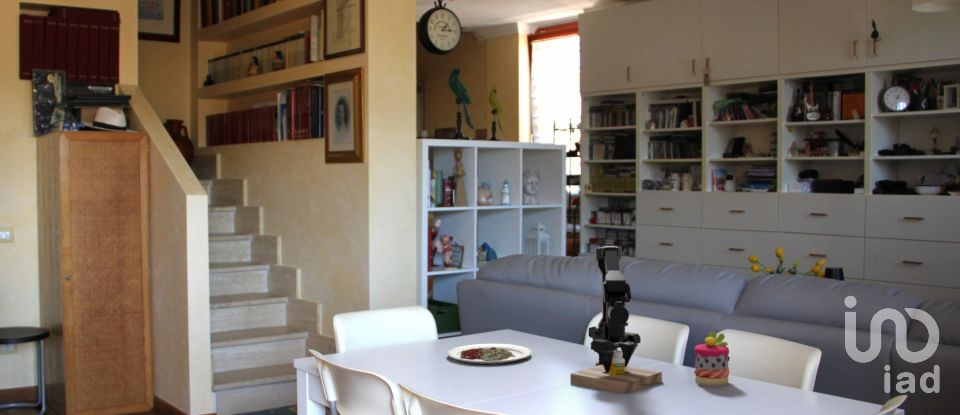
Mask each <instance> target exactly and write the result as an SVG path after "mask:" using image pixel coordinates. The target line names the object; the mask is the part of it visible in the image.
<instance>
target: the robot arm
mask: <svg viewBox="0 0 960 415" xmlns="http://www.w3.org/2000/svg"><path fill="white" fill-rule="evenodd" d="M621 260H622V249H621V248H619V247H618V246H616V245H603V246H602V247H598V248H596V249H595V250H594V261H595V262H596V267H597V268H598V270H599V271H600V273H601V313H602V314H601V319H600V320H599V322H598V323H597V326H594V325H593V326H592V327H591V326H590V327H588V337H589V338H591V339H592V341H591V342H590V350H593V352H594V353H597V355H598V362H595V363H594V364H595V365H596V366H599V365H602V364H603V366H604V368H605V371H606V372H609V371H610V367H611V363H612V359H613V354H614V350H618V349H620V351H622V352H623V356H622V358H624V360H625V367H627V366H629V365H628V364H629V363H630V361H631V358H632V356H633V354H634V352H635V351H636V349H637V347H639V344H640V343H641V336H640V334H638V333H636V332H629V331H626V327H628V326H629V322H628V321H629V318H630V313H629V310H628V309H627V307H626V303H630V302H631V300H632V293H631V286H630V284H629V282H627V278H626V276H625V275H624V274H623V273H621V270H620V261H621ZM618 351H619V350H618Z"/></svg>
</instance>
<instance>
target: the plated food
mask: <svg viewBox="0 0 960 415" xmlns="http://www.w3.org/2000/svg"><path fill="white" fill-rule="evenodd" d="M532 354H533V351H532V350H531V349H530V348H528V347H525V346H522V345H521V346H520V345H516V344H509V343H479V344H477V343H476V344H469V345H468V344H466V345H462V346H461V345H460V346H457V347H454V348H451V349H449V350H448V351H447V356H448V357H449V358H452V359H455V360H457V361H462V362H466V363H470V364H479V365H480V364H484V365H486V364H487V365H488V364H489V365H491V364H504V363H511V362H516V361H519V360H522V359H525V358H528V357H530V356H532Z"/></svg>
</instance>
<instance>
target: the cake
mask: <svg viewBox="0 0 960 415" xmlns="http://www.w3.org/2000/svg"><path fill="white" fill-rule="evenodd" d="M725 337H726V336H725V334H724V333H720V334H719V335H717V333H716V332H714V331H711V332H709V334H708V336H706V337H705V338H704V342H705V343H701V344H700V343H699V344H697V345H696V346H694V362H693V364H695V365H694V368H695V370H694V371H693V373H694V374H695V378H694V379H695V383H696V384H697V383H698V385H700V384H702V385H701V386H704V385H709V386H708V387H721V386H720V385H725V386H727V385H729V375H730V367H729V361H730V356H729V354H730V349H729V347H728V342H727V341H724V339H725ZM726 384H727V385H726Z"/></svg>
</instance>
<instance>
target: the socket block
mask: <svg viewBox="0 0 960 415" xmlns="http://www.w3.org/2000/svg"><path fill="white" fill-rule="evenodd" d="M662 382H663V371H659V370H652V369H647V368H643V367H642V368H641V367H635V366H630V365H627V367H625V375H621V376H615V375H610V374H608V372H606V371H605V368H604V366H603V364H602V365H596V366H592V367H589V368H585V369H581V370H579V371H575V372H574V371H573V372H571V373H570V384H575V385H579V386H582V387H588V388H593V389H599V390H603V391H607V392H614V393H618V394H623V395H625V394H628V393H632V392H635V391H637V390H640V389H644V388H646V387H649V386H653V385H656V384H659V383H662Z"/></svg>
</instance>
